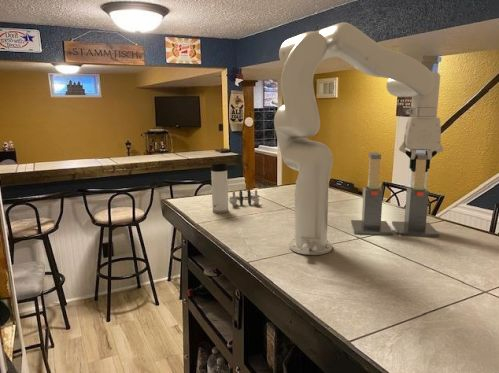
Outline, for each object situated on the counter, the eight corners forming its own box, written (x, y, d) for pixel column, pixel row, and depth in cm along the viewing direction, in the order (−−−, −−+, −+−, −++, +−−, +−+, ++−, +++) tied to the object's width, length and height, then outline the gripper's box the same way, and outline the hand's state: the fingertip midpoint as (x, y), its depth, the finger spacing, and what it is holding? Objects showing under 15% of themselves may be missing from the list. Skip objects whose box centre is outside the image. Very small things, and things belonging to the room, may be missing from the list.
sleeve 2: (439, 237, 121) (443, 194, 118) (399, 235, 123) (402, 193, 120) (428, 225, 132) (431, 185, 129) (391, 224, 134) (394, 185, 131)
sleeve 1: (392, 235, 123) (395, 193, 120) (354, 233, 125) (356, 192, 122) (386, 223, 134) (388, 185, 131) (350, 222, 136) (352, 184, 133)
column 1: (377, 213, 125) (381, 154, 121) (368, 213, 126) (371, 154, 122) (375, 208, 131) (378, 152, 127) (365, 208, 131) (368, 152, 127)
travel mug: (214, 214, 149) (212, 163, 145) (211, 209, 156) (209, 161, 151) (230, 212, 151) (228, 162, 147) (226, 208, 157) (225, 160, 153)
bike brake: (262, 205, 158) (256, 200, 178) (261, 189, 158) (255, 186, 178) (229, 207, 157) (227, 202, 177) (228, 191, 157) (226, 188, 176)
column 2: (423, 215, 123) (428, 155, 119) (413, 214, 123) (417, 155, 119) (418, 210, 129) (423, 152, 124) (408, 209, 129) (413, 152, 125)
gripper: (398, 113, 117) (394, 172, 121) (456, 113, 114) (450, 173, 118) (393, 113, 124) (390, 168, 128) (447, 112, 121) (442, 169, 125)
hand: (419, 170), depth 123 cm, fingers closed on column 2, 3 cm apart
